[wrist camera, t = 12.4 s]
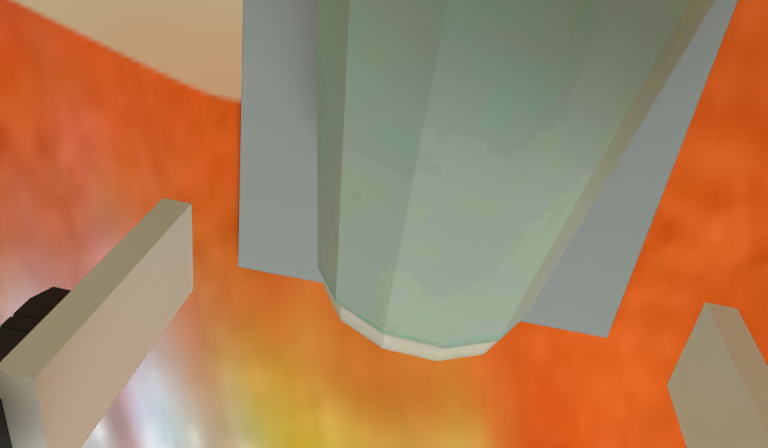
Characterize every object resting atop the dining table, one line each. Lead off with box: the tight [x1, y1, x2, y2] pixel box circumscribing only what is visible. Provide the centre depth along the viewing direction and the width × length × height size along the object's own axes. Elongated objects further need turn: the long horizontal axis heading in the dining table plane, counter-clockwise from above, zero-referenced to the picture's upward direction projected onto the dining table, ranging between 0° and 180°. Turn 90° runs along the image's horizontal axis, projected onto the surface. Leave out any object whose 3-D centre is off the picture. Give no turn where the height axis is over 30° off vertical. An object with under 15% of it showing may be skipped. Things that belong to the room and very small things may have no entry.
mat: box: [238, 0, 738, 338], centre depth 23 cm, size 16×21×1 cm
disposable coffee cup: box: [316, 0, 715, 361], centre depth 18 cm, size 11×11×15 cm
